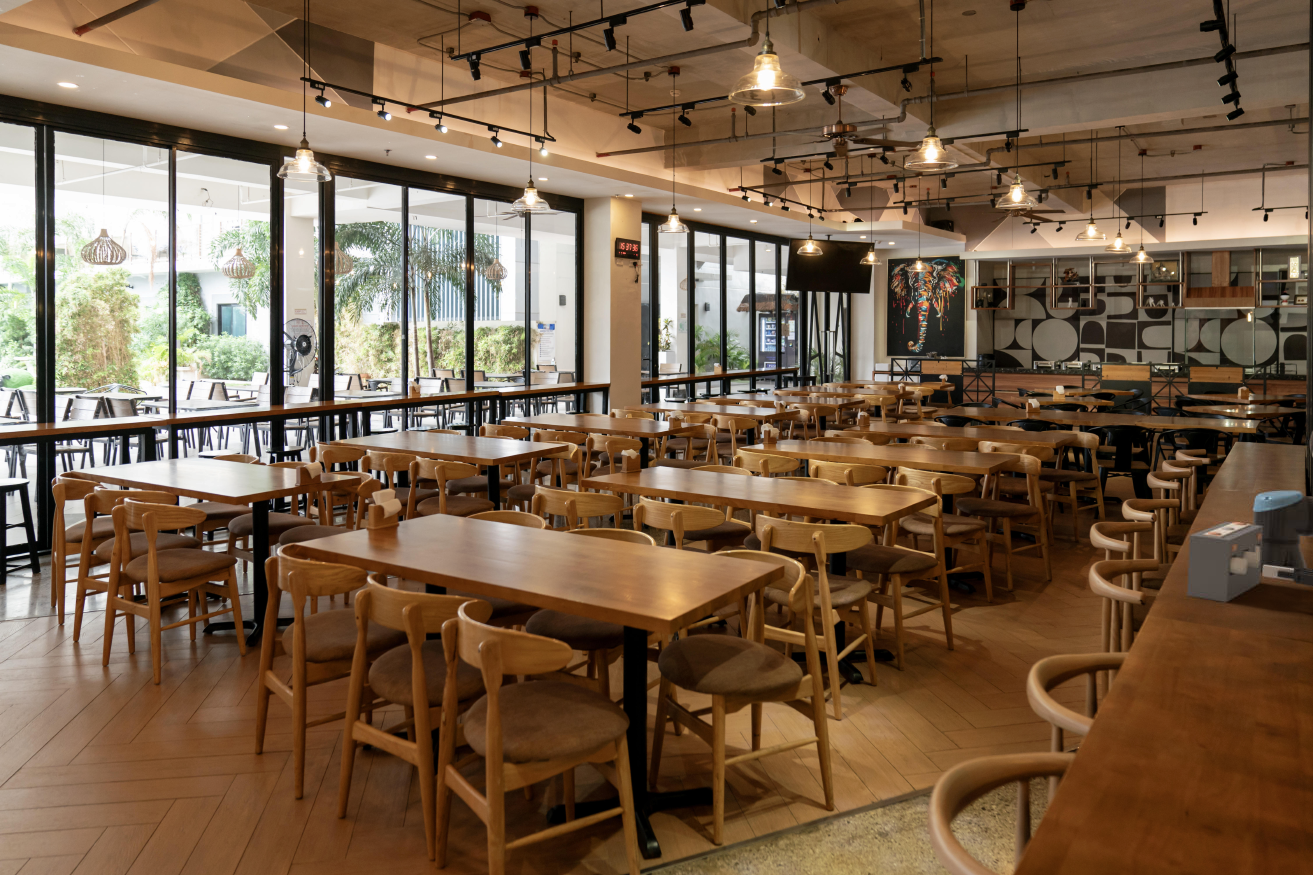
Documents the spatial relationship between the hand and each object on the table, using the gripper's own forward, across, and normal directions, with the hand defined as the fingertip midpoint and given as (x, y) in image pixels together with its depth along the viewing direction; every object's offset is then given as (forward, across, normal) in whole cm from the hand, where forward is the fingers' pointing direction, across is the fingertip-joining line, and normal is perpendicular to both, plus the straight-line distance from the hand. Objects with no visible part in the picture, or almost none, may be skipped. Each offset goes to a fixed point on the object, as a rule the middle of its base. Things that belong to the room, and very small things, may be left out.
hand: (1263, 570), depth 225 cm
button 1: (+7, +1, -2) cm, 7 cm away
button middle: (+7, +12, -2) cm, 14 cm away
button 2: (+9, +23, -2) cm, 25 cm away
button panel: (+11, +12, -9) cm, 18 cm away
